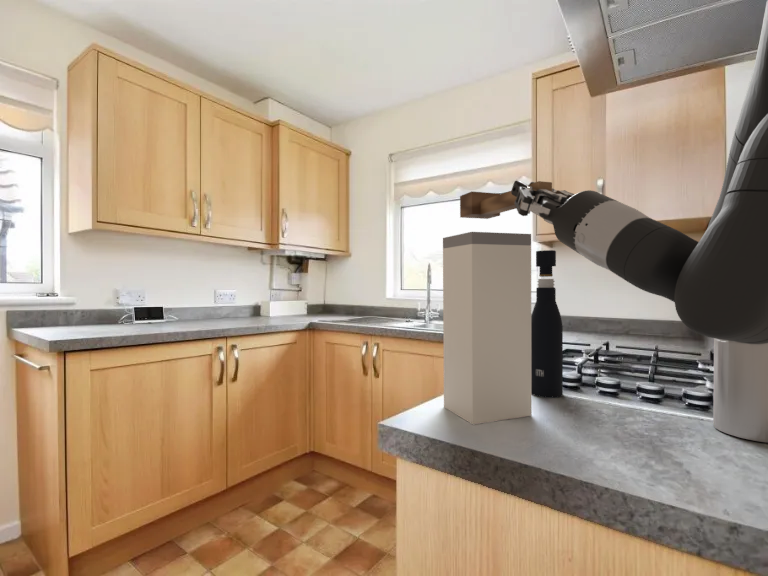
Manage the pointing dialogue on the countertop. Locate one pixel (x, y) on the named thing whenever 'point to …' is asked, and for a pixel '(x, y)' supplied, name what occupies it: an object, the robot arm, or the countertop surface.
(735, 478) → the countertop surface
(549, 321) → the black bottle
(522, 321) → the stand
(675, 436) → the countertop surface
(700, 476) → the countertop surface
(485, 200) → the mallet
